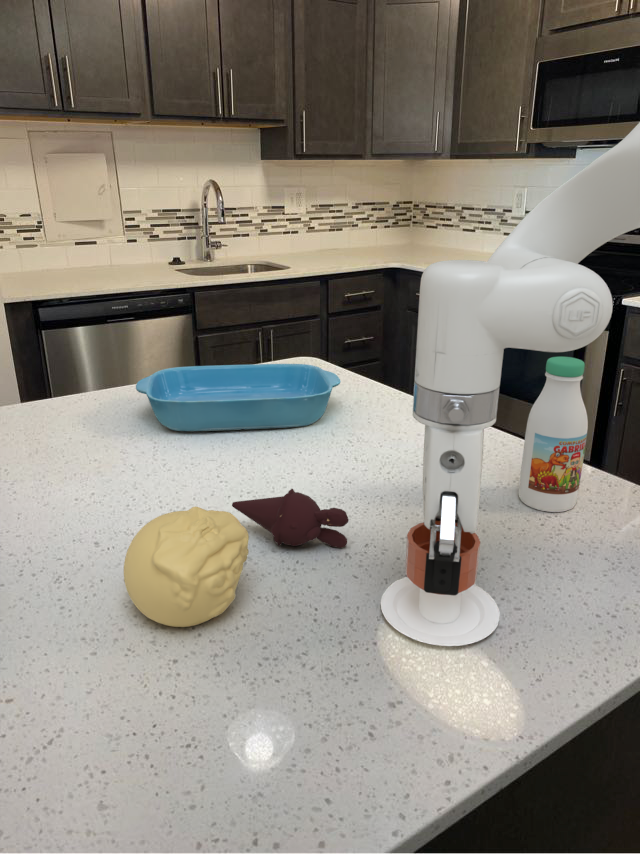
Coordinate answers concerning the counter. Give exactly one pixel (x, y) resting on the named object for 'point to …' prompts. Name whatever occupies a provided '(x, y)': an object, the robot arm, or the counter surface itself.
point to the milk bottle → (555, 439)
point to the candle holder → (440, 614)
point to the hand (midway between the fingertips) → (441, 568)
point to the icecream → (295, 519)
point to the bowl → (420, 546)
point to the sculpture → (186, 566)
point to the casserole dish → (238, 396)
